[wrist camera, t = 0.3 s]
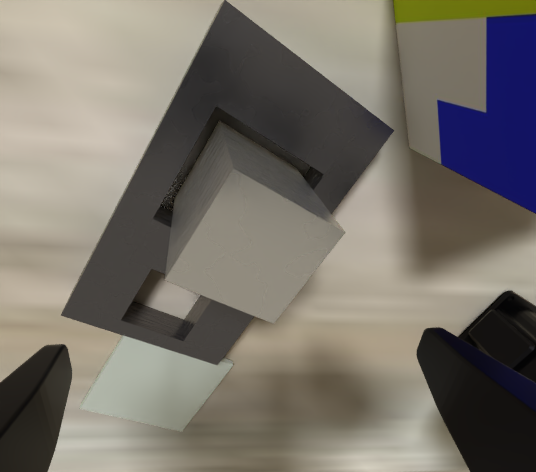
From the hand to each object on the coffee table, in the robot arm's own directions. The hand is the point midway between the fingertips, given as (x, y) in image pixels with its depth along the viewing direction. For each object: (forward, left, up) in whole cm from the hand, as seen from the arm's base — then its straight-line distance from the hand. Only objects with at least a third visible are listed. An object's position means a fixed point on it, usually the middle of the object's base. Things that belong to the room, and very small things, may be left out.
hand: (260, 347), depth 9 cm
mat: (-4, +16, -13) cm, 21 cm away
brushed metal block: (-1, 0, -13) cm, 13 cm away
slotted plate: (-1, +2, -13) cm, 13 cm away
